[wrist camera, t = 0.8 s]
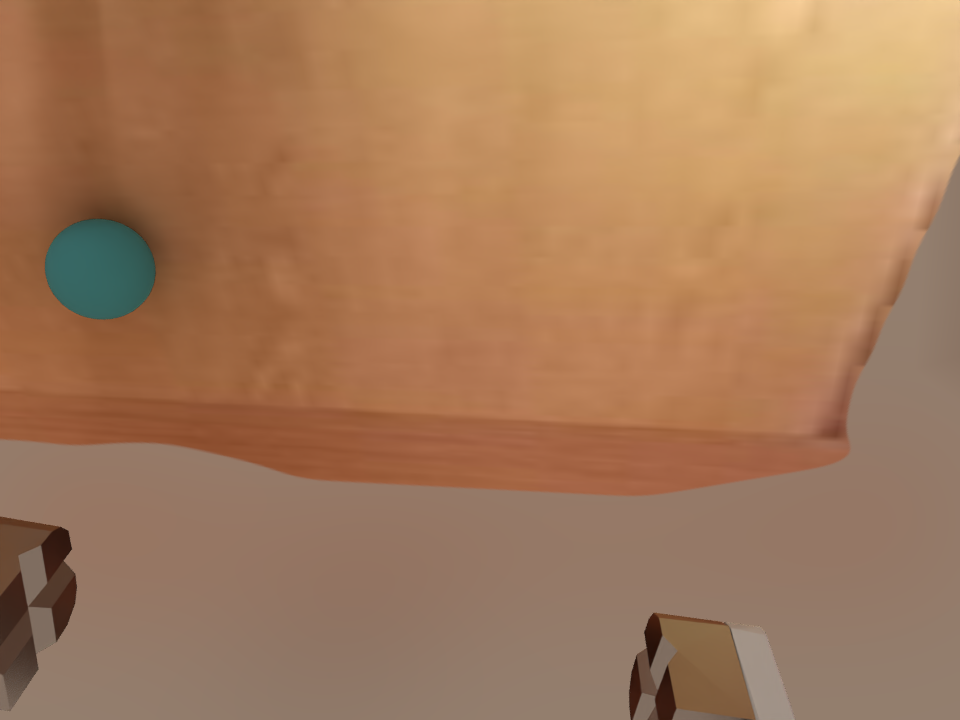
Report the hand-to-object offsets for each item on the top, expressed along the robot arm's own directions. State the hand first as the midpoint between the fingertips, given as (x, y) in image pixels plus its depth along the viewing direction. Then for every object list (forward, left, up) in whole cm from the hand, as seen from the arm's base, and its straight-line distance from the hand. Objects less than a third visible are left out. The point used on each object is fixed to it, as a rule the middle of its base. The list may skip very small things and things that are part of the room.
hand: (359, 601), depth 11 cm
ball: (+8, -22, -37) cm, 43 cm away
